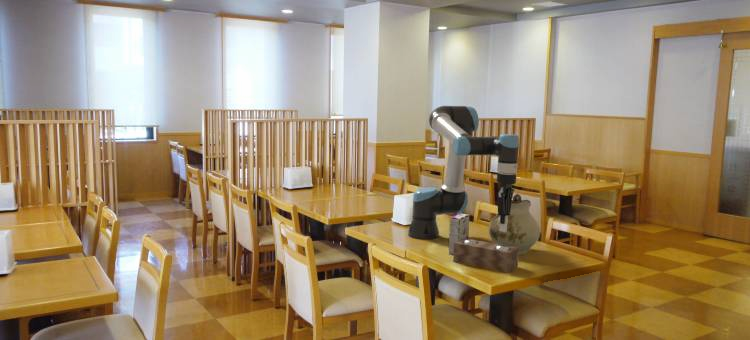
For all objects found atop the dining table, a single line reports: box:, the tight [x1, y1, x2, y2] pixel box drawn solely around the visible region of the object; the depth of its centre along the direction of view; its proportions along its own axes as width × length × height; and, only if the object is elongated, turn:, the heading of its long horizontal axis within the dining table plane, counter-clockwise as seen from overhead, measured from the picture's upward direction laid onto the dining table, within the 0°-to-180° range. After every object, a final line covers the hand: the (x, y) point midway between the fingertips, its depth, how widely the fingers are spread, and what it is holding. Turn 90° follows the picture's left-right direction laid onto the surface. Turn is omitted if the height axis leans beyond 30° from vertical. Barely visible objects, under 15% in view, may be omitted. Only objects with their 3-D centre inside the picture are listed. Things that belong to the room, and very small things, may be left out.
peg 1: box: [464, 238, 478, 245], centre depth 238 cm, size 5×5×8 cm
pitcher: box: [488, 193, 541, 256], centre depth 256 cm, size 22×24×25 cm
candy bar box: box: [448, 213, 470, 256], centre depth 252 cm, size 11×5×16 cm, turn 148°
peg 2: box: [496, 245, 509, 251], centre depth 230 cm, size 5×5×8 cm
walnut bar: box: [452, 238, 519, 273], centre depth 234 cm, size 24×10×8 cm, turn 56°
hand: (502, 231), depth 230 cm, fingers closed
